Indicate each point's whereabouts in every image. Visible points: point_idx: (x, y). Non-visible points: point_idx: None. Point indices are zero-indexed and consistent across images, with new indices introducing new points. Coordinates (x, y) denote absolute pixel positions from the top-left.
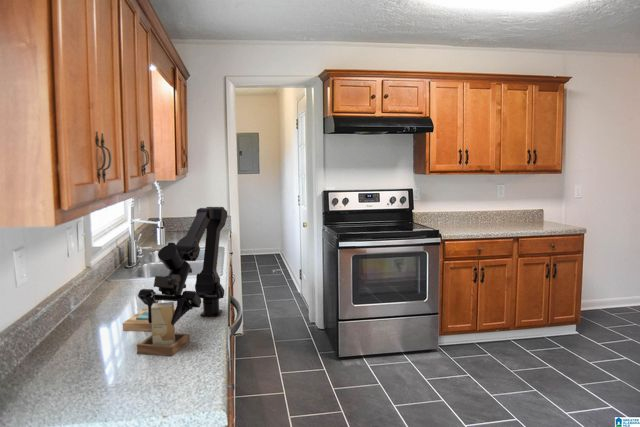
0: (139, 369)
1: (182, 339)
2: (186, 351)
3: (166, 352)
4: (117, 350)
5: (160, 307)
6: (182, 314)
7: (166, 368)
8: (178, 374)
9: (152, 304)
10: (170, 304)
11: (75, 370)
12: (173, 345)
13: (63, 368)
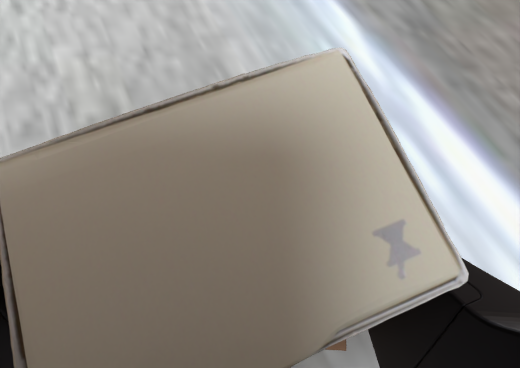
0: (240, 32)
1: None
2: None
3: None
4: (432, 180)
5: (200, 95)
6: None
7: (148, 46)
8: (89, 11)
9: (433, 216)
10: (41, 239)
11: (445, 9)
12: None
13: (496, 18)
